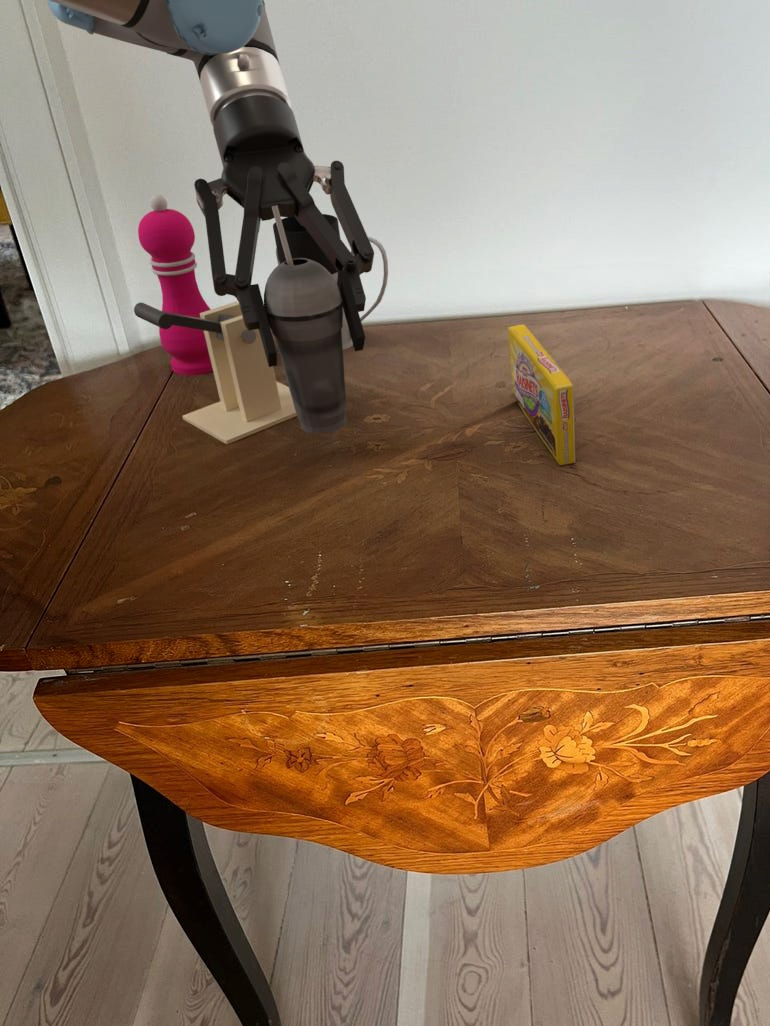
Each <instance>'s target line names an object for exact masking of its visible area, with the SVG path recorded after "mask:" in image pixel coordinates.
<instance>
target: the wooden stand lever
mask: <svg viewBox="0 0 770 1026" xmlns="http://www.w3.org/2000/svg"><path fill="white" fill-rule="evenodd" d="M133 312H134V315H135V316H136V317H137V318H139V319H141V320H144V321H145V322H148V323H150V324H152V325H154V326H156V327H158V328H159V327H160V328H162V329H169V328H170V327H171V326H172V325H174V326H180V327H186V328H192V329H198V330H204V331H210V332H216V338H218V339H221V340H223V341H224V337H223V333H222V328H221V324H220V322H223V321H226V320H229V319H232V318H235V316H229V315H224V314H219V319H218V321H214V320H208V319H202V318H197V317H191V316H186V315H180V314H175V313H169V312H163V311H162V310H160V309H158V308H155V307H154V306H151V305H149V304H147V303H145V302H137V303H136V304H135V305H134V307H133Z"/></svg>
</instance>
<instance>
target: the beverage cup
mask: <svg viewBox="0 0 770 1026" xmlns="http://www.w3.org/2000/svg"><path fill="white" fill-rule="evenodd" d="M272 210H273V214H274V217H275V218H274V222H276V225H277V228H278V232H279V235H280V239H281V243H282V246H283V250H284V254H285V257H286V261H284V262H282V263H281V264H279V265H278V264H277V266H276V267H275V268H274V269H273V270H272V271H271V272H270V273H269V276H268V277H267V280H266V282H265V287H264V292H263V303H264V307H265V311H266V314H267V318H268V322H269V326H270V329H271V333H272V336H273V337H274V339H275V343H276V346H277V347H276V348H277V350H278V351H277V352H278V354H279V357H280V361H281V364H282V368H283V372H284V375H285V378H286V382H287V386H288V387H289V390H290V393H291V397H292V400H293V404H294V407H295V411H296V413H297V415H298V416H297V418H298V419H297V420H298V421H299V425H300V428H301V430H302V431H304V432H306V433H309V434H313V435H322V434H330V433H333V432H336V431H339V430H341V429H342V428H343V427H345V426H346V424H347V423H348V422H347V395H346V393H347V392H346V379H345V362H344V350H343V346H342V331H341V328H342V321H343V308H342V307H343V306H344V301H343V298H342V297H341V294H340V290H339V287H338V284H337V283H336V281H335V279H334V277H333V276H332V275H331V273H330V272H329V271H328V270H327V269H326V268H324V267H323V266H322V265H321V264H319V263H317V262H315V261H313V260H310V259H306V258H293V259H292V257H291V253H290V250H289V246H288V243H287V239H286V235H285V232H284V228H283V224H282V221H281V219H282V217H280V213H279V210H278V206H277V205H276V206H272Z"/></svg>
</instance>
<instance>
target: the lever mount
mask: <svg viewBox="0 0 770 1026" xmlns="http://www.w3.org/2000/svg"><path fill="white" fill-rule="evenodd" d="M210 309H211V310H208V311H205V312H202V313H200V317H201V318H202V319H208V320H214V321H218V319H219V314H224V315H229V316H235V318H232V319H229V320H226V321H223V322H220V324H221V328H222V333H223V337H224V341H223V340H221V339H218V338H216V332H210V331H204V334H205V338H206V343H207V347H208V351H209V355H210V359H211V364H212V368H213V371H212V372H213V377H214V380H215V385H216V388H217V389H216V390H217V392H218V397H219V401H217V402H215V403H212V404H210V405H206V406H204V407H201V408H198V409H196V410H194V411H191V412H189V413H186V414H183V415H182V417H181V418H182V420H183V421H185V422H187V423H189V425H192V426H194V427H196V428H198V429H199V430H200V431H202V432H204V433H206V434H207V435H209V436H211V437H213V438H215V439H217V440H218V441H220V442H221V443H224V444H225V445H229V444H232V443H234V442H236V441H240V440H242V439H243V438H245V437H249V436H252V435H254V434H256V433H258V432H261V431H263V430H266V429H269V428H271V427H273V426H276V425H278V424H280V423H283V422H285V421H288V420H290V419H292V418H294V417H298V415H297V413H296V411H295V407H294V404H293V400H292V397H291V393H290V390H289V386H288V385H285V384H284V383H281V382H279V381H277V380H276V379H277V378H276V374H275V369H274V366H272V367H269V366H268V362H267V358H266V354H265V351H264V347H263V343H262V340H261V336H260V332H259V329H255V330H250V331H249V330H248V329H247V328H246V326H245V324H244V320H243V316H242V313H241V309H240V305H239V302H238V301H233V302H230V303H228V304H223V305H220V306H217V307H215V308H210Z"/></svg>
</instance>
